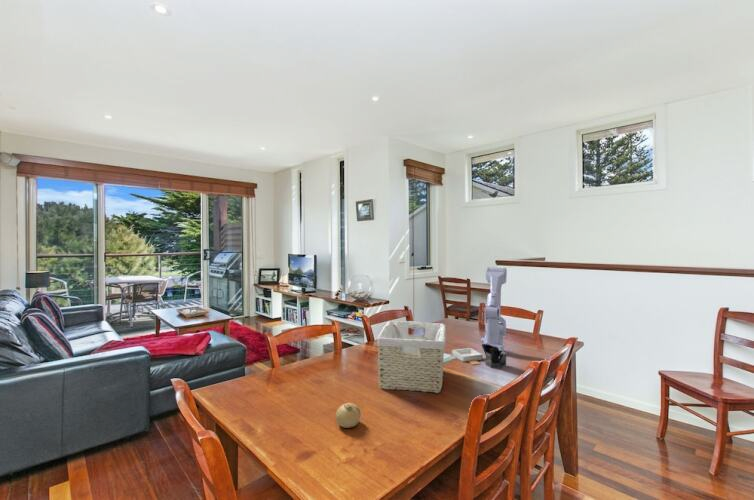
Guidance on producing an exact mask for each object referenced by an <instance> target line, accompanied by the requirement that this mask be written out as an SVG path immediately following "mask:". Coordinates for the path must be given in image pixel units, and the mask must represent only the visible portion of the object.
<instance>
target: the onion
mask: <svg viewBox="0 0 754 500" xmlns="http://www.w3.org/2000/svg"><path fill="white" fill-rule="evenodd" d="M335 420H336V423H337V424H338V425H339V426H340V427H342V428H343V429H345V428H346V429H349V428H353V427H356V426H357V425H358V424H359V422H360V420H361V410H360V408H359V406H357V405H356V404H354V403H352V402H347V403H343V404H341V405H340V406H339V407H338V409H337V410H336V412H335Z"/></svg>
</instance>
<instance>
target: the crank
mask: <svg viewBox="0 0 754 500" xmlns="http://www.w3.org/2000/svg"><path fill="white" fill-rule="evenodd" d="M498 365H499V366H501V367H507V354H500V356H499V361H498Z"/></svg>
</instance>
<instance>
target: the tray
mask: <svg viewBox="0 0 754 500" xmlns="http://www.w3.org/2000/svg"><path fill="white" fill-rule="evenodd" d="M451 355H452V356H454V358H456V359H458V360H459V361H461V362H463V363H465V362H466V363H467V362H468V361H475V360H476V361H481V360H483V357H484V355H483V354H482V353H481V352H479V351H477V350H475V349H473V348H472V347H467V348H460V349H459V348H458V349H457V348H455V349H452V350H451Z"/></svg>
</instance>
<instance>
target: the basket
mask: <svg viewBox="0 0 754 500" xmlns="http://www.w3.org/2000/svg"><path fill="white" fill-rule="evenodd" d="M446 327H447V326H446V324H445V323H436V322H434V323H433V322H424V321H423V322H422V321H415V320H407V321H406V320H402V321H401V320H398V321H397V320H389V321H387V323H386V324H385V325H384V326H383V328H382V329H381V331H380V333H379V334H378V336H377V341H376V342H377V343H376V345H377V351H378V353H377V355H378V356H377V362H378V363H377V365H378V387H379V388H380V389H382V390H383V389H384V390H398V391H400V390H403V391H404V390H405V391H407V390H408V391H410V392H411V391H417V392H418V391H419V392H420V391H421V392H423V393H427V392H428V393H435V394H439V393H441V389H442V387H443V377H444V355H445V353H444V351H445V349H446V342H447V339H446V338H447V328H446ZM409 329H411V330H414V329H415V330H416V329H417V330H422V332H423V335H422V334H409Z"/></svg>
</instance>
